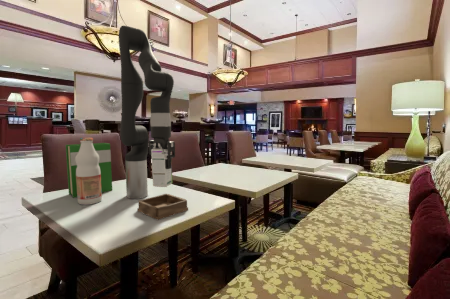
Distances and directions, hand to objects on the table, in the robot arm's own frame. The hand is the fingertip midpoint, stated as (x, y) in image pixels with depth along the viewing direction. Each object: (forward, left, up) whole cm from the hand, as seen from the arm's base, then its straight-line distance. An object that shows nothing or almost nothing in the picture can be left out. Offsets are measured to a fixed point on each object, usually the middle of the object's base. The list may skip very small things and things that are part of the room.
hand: (162, 167), depth 97 cm
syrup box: (0, 0, -7) cm, 7 cm away
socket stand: (0, 0, -17) cm, 17 cm away
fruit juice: (-33, -15, -17) cm, 40 cm away
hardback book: (-48, -9, -17) cm, 52 cm away
